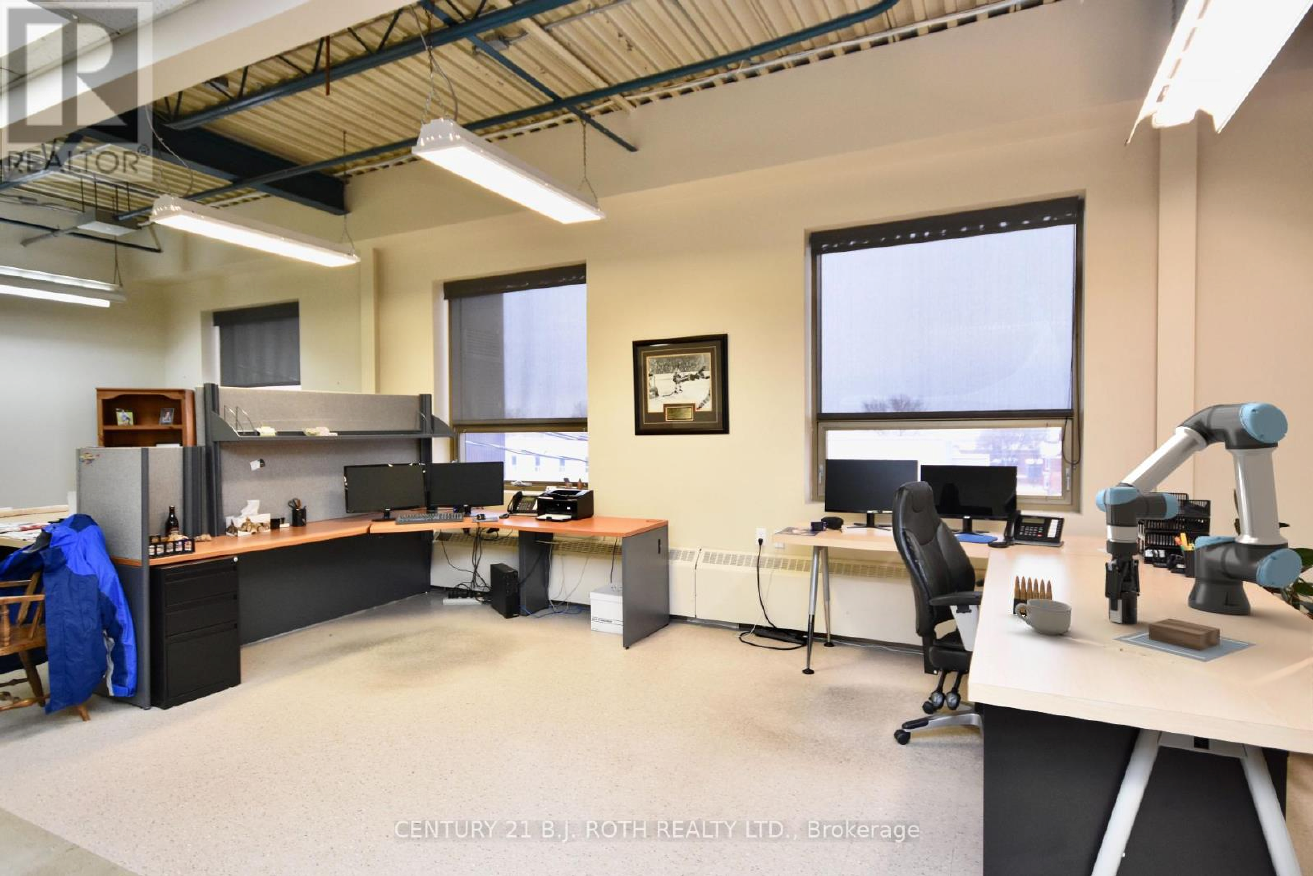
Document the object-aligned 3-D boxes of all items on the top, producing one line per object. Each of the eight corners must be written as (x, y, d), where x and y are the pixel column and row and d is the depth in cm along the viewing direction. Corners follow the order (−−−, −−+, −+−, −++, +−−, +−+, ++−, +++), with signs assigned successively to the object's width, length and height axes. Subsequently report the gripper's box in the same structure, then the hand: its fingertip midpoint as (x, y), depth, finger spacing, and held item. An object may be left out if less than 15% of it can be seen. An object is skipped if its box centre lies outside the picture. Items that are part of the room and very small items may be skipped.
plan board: (1166, 628, 186) (1166, 624, 186) (1256, 648, 168) (1256, 643, 168) (1112, 643, 172) (1112, 638, 172) (1205, 666, 155) (1205, 661, 155)
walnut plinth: (1169, 633, 178) (1169, 618, 178) (1219, 644, 168) (1219, 628, 168) (1148, 639, 173) (1148, 623, 173) (1199, 650, 163) (1199, 634, 163)
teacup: (1065, 628, 186) (1065, 600, 186) (1076, 639, 175) (1076, 609, 175) (1010, 624, 190) (1010, 596, 190) (1018, 634, 180) (1018, 605, 180)
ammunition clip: (1012, 614, 201) (1012, 575, 201) (1015, 613, 202) (1015, 574, 202) (1051, 622, 193) (1051, 581, 193) (1053, 620, 194) (1053, 580, 194)
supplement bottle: (1142, 625, 186) (1141, 583, 186) (1115, 624, 187) (1114, 582, 187) (1130, 619, 192) (1129, 578, 192) (1104, 618, 194) (1103, 577, 194)
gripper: (1125, 536, 198) (1126, 612, 198) (1089, 541, 188) (1090, 621, 188) (1154, 539, 191) (1155, 618, 191) (1117, 545, 182) (1118, 628, 182)
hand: (1122, 619), depth 190 cm, fingers closed on supplement bottle, 7 cm apart
